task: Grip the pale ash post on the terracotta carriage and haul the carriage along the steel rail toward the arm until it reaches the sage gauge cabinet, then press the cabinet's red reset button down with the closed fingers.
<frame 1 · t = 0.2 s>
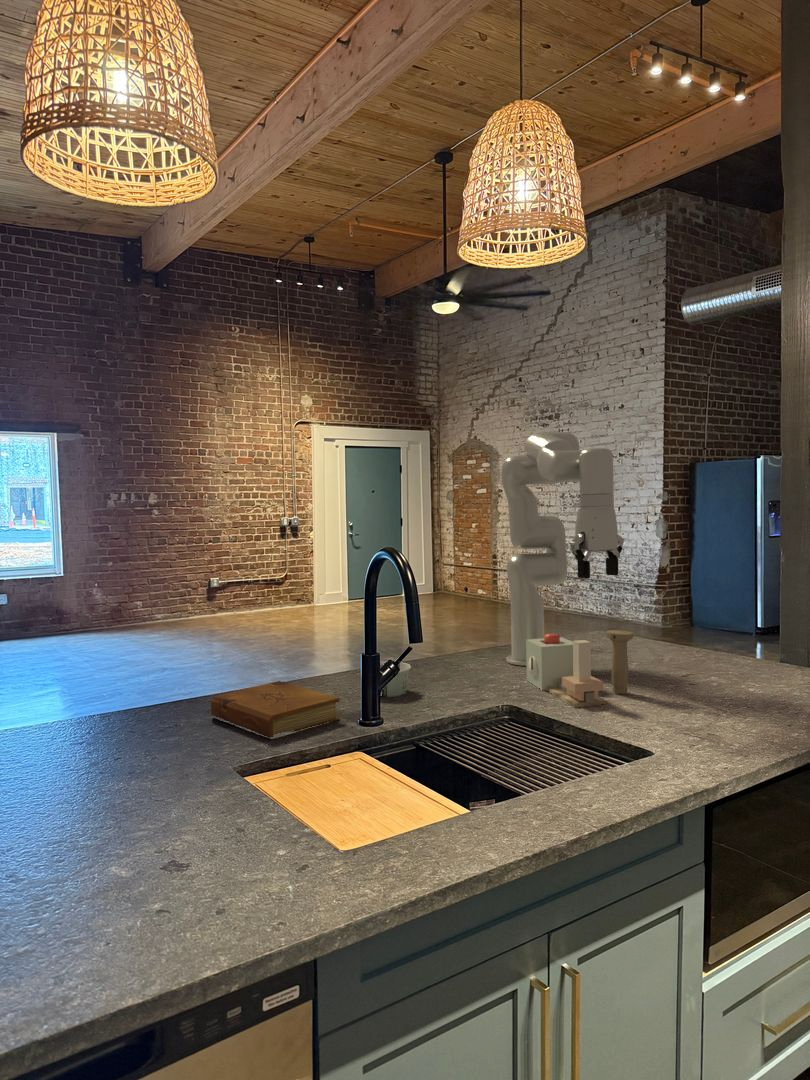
hand: (598, 576, 174), 30 cm above the worktop, tool pointing down, fingers open, 9 cm apart
handle: (620, 693, 183), on the worktop
rail: (575, 697, 180), on the worktop
diary: (275, 722, 169), on the worktop
carriage: (581, 668, 176), point 8 cm above the worktop, slide at 0.0 cm
reset button: (551, 640, 193), point 11 cm above the worktop, slide at 0.0 cm
gauge cabinet: (552, 684, 193), on the worktop
food container: (387, 693, 190), on the worktop
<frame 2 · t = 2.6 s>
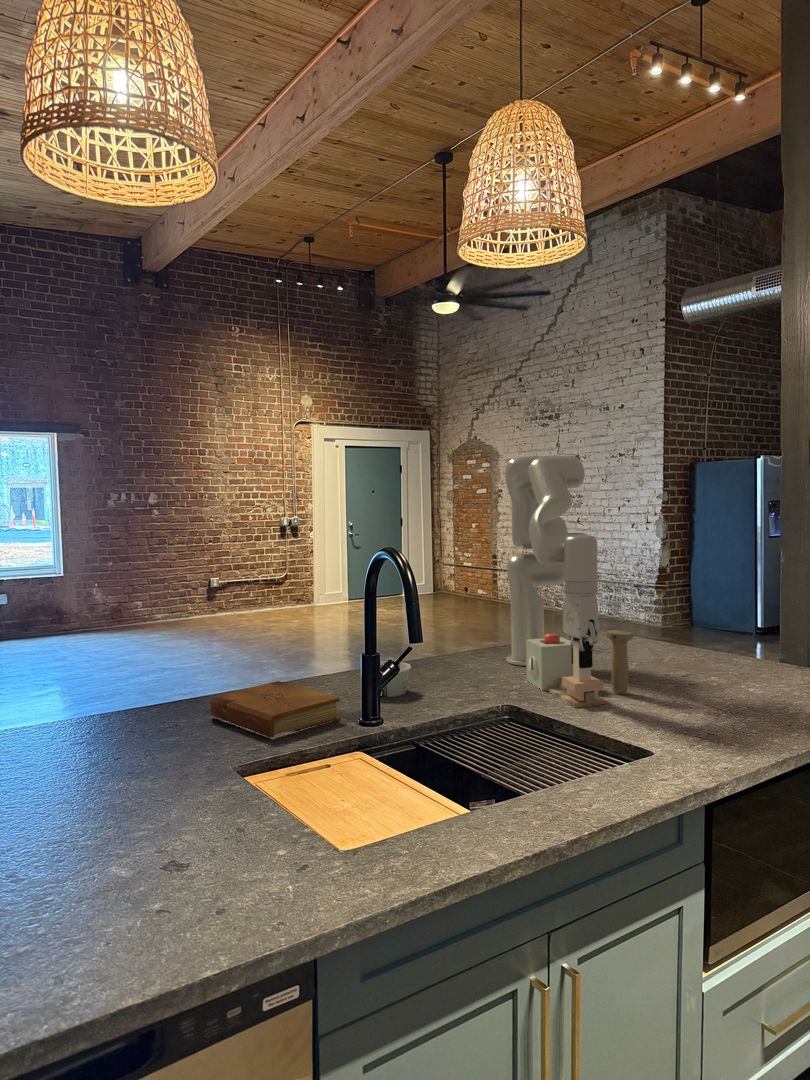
hand: (581, 665, 176), 9 cm above the worktop, tool pointing down, fingers closed on carriage, 3 cm apart
carriage: (581, 668, 176), point 8 cm above the worktop, slide at 0.0 cm, touching gripper
everything else where it was.
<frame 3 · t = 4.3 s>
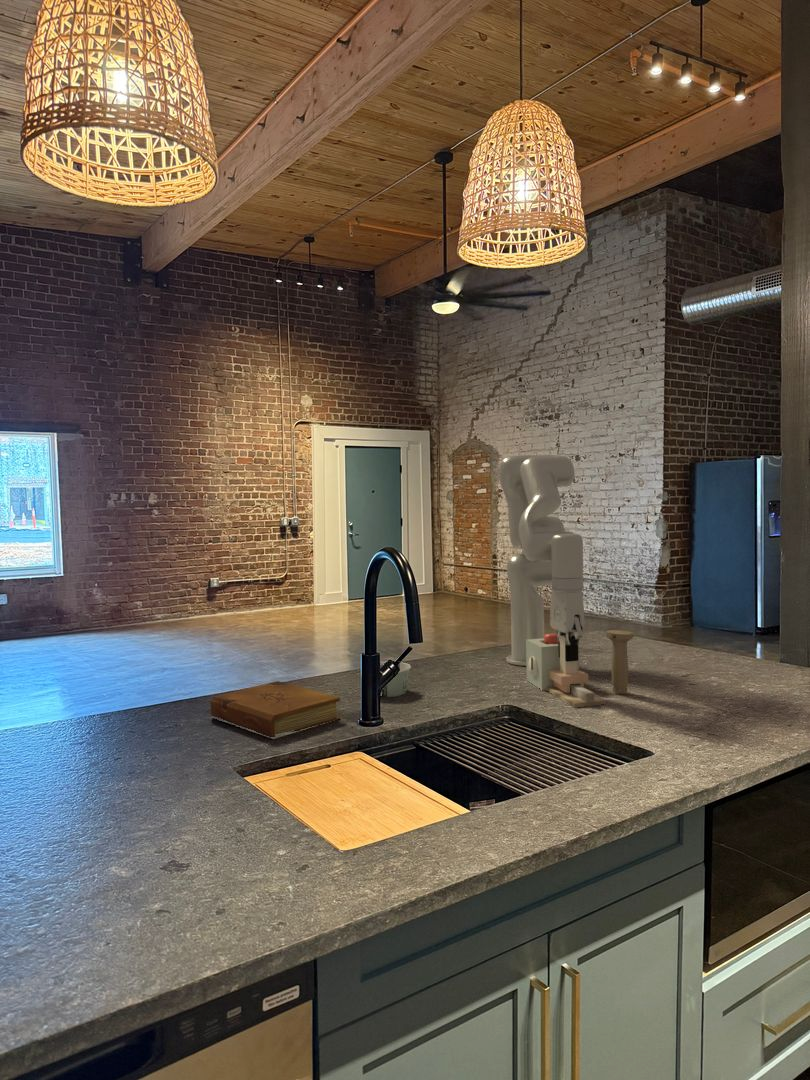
hand: (568, 658, 183), 9 cm above the worktop, tool pointing down, fingers closed on carriage, 3 cm apart
carriage: (568, 662, 183), point 8 cm above the worktop, slide at 7.3 cm, touching gripper
everything else where it was.
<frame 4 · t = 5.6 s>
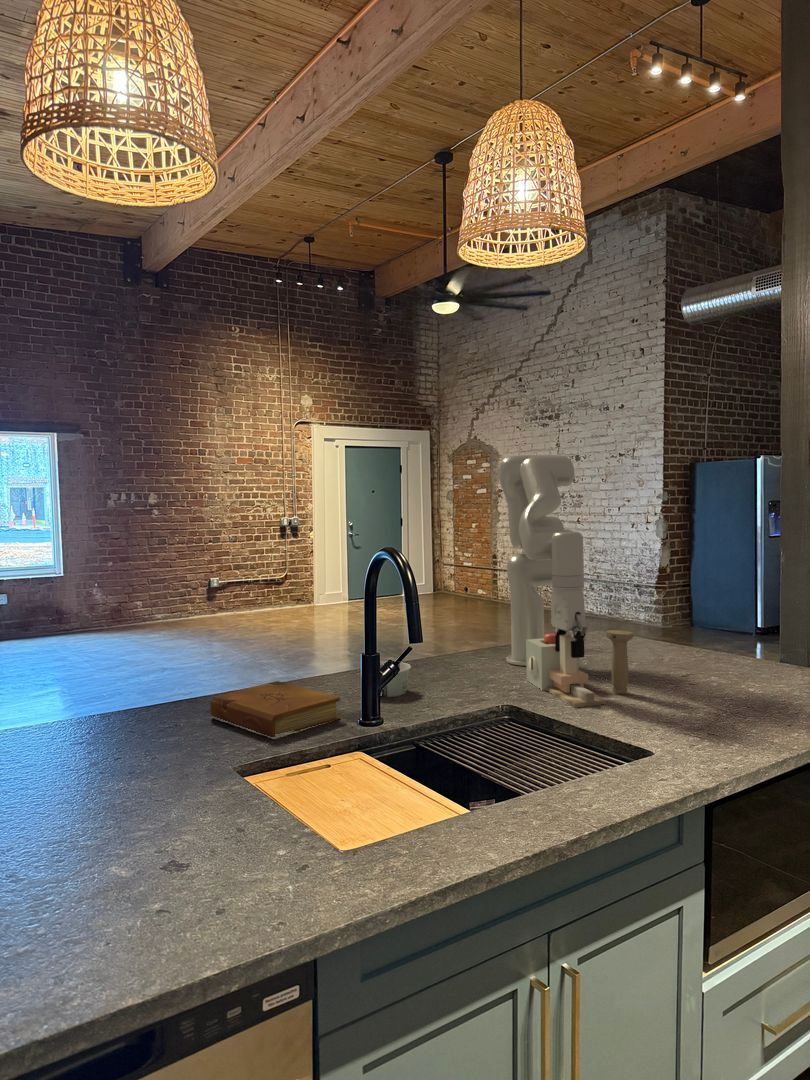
hand: (569, 653, 182), 10 cm above the worktop, tool pointing down, fingers open, 8 cm apart
carriage: (568, 662, 183), point 8 cm above the worktop, slide at 7.4 cm
everything else where it was.
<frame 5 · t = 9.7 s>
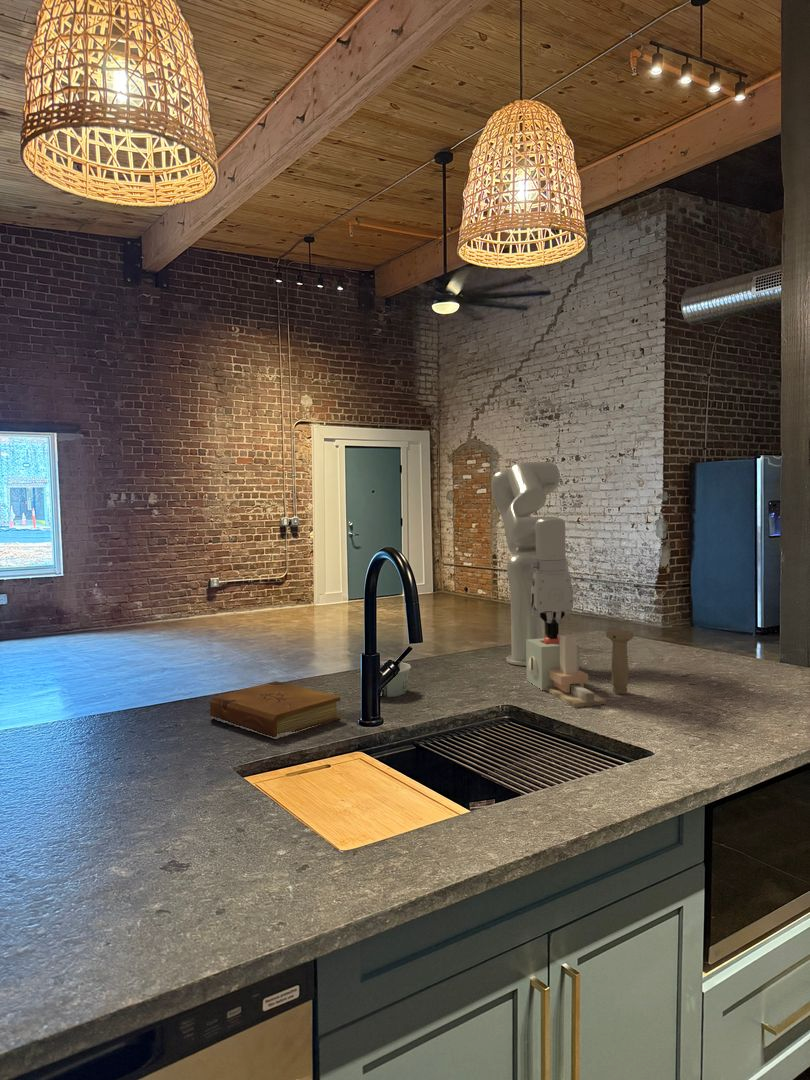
hand: (551, 637, 192), 12 cm above the worktop, tool pointing down, fingers closed
reset button: (551, 643, 193), point 11 cm above the worktop, slide at 0.7 cm, touching gripper
everything else where it was.
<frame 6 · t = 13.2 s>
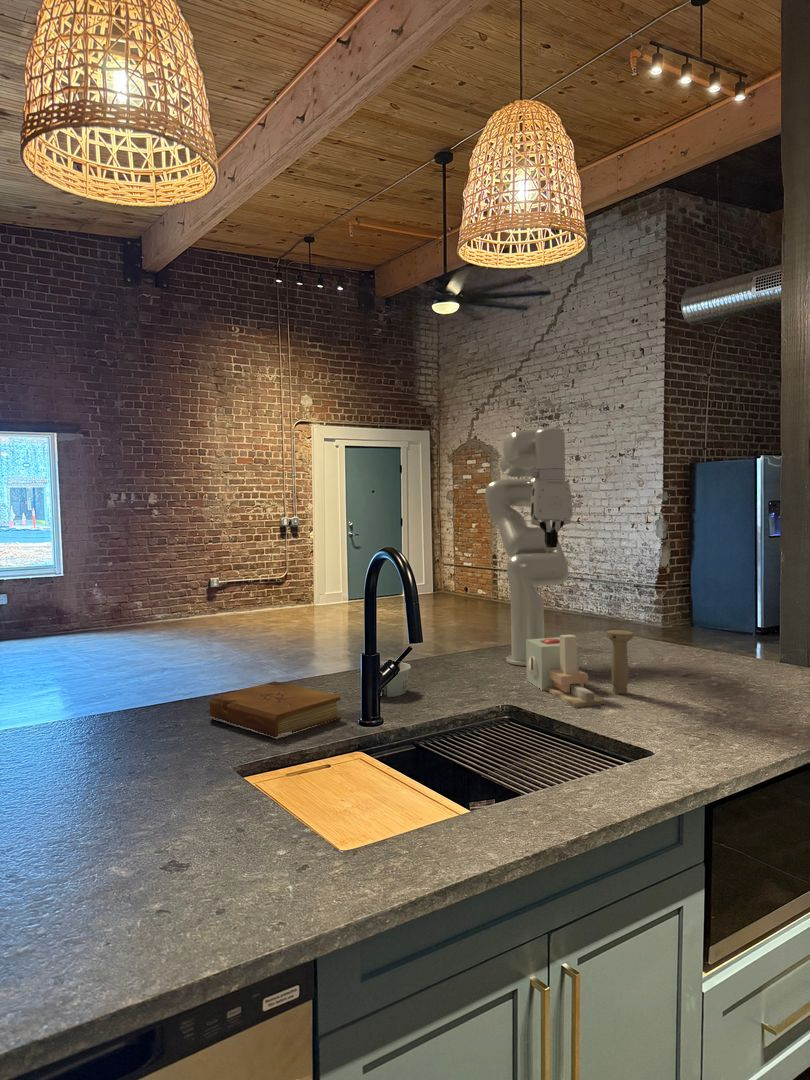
hand: (551, 547, 195), 35 cm above the worktop, tool pointing down, fingers closed
reset button: (551, 645, 193), point 10 cm above the worktop, slide at 1.4 cm
everything else where it was.
at the end: carriage slide at 7.4 cm; reset button slide at 1.4 cm; handle moved 0.2 cm from its start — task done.
